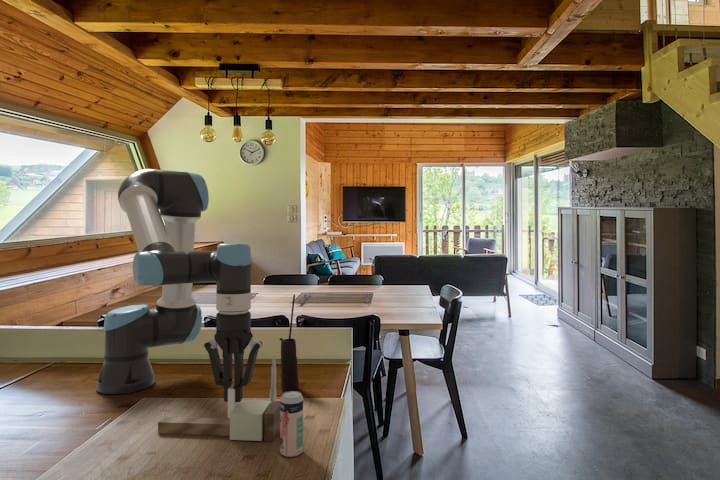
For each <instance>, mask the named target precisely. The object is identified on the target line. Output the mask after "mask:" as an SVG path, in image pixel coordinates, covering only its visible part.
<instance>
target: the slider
mask: <svg viewBox="0 0 720 480" xmlns="http://www.w3.org/2000/svg"><path fill="white" fill-rule="evenodd" d="M271 404H272V401H264V400H260V399H259V400H257V399H256V400H255V399H242V400H241V401H240V402H238V405H237V406H236V407H235V409H234V410H233V411H232V412H231V413H230V418H229V419H230V436H229V441H252V442H253V441H255V442H257V441H258V442H262V441H263V439H264V420H265V412H266V411H267V410H268V408H269V407H270V405H271Z"/></svg>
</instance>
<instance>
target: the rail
mask: <svg viewBox="0 0 720 480" xmlns="http://www.w3.org/2000/svg"><path fill="white" fill-rule="evenodd" d="M157 434H169V435H195V436H196V435H198V436H199V435H201V436H223V437H224V436H228V437H230V418H221V417H220V418H218V417H217V418H216V417H214V418H213V417H211V418H210V417H188V416H187V417H186V416H164V417H163V418H161V419H160V420H159V421H158V422H157ZM279 434H280V402H273V403H272V404H271V405H270V407H269V408H268V410H267V411H266V412H265V420H264V438H263V439H264V440H263V441H264V442H267V443H268V442H275V440H276V439H277V436H278V435H279Z"/></svg>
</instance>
